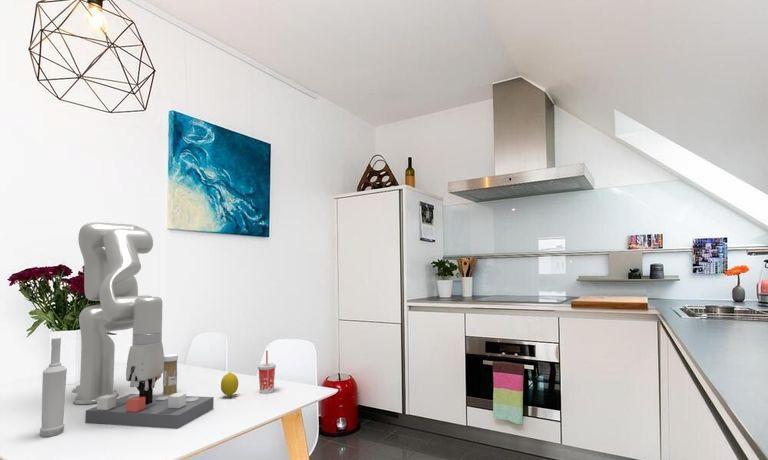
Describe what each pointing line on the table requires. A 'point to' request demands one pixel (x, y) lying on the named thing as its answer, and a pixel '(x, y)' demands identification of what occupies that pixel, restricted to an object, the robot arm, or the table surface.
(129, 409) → the red switch
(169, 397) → the right switch
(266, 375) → the beverage cup
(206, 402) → the switch panel
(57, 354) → the bottle
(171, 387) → the sprinkles bottle
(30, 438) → the table surface
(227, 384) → the lemon
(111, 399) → the left switch
